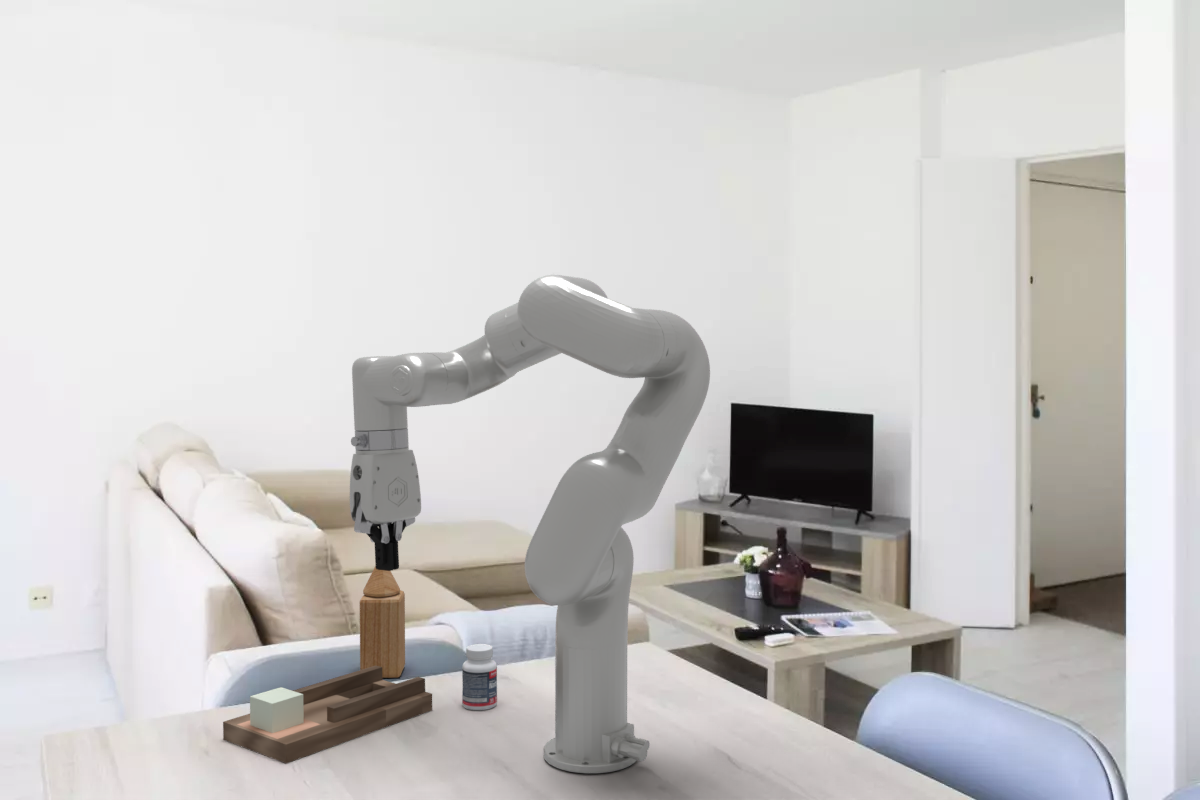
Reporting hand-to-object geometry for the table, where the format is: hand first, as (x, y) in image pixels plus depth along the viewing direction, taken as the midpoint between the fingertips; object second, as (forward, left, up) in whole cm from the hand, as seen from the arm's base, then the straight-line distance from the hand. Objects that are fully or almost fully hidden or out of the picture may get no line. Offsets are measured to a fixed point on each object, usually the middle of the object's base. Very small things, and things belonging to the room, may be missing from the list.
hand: (387, 568), depth 155 cm
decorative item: (+18, -15, -22) cm, 32 cm away
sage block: (+5, +15, -20) cm, 25 cm away
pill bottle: (-6, -13, -22) cm, 26 cm away
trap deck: (+5, +6, -22) cm, 23 cm away
